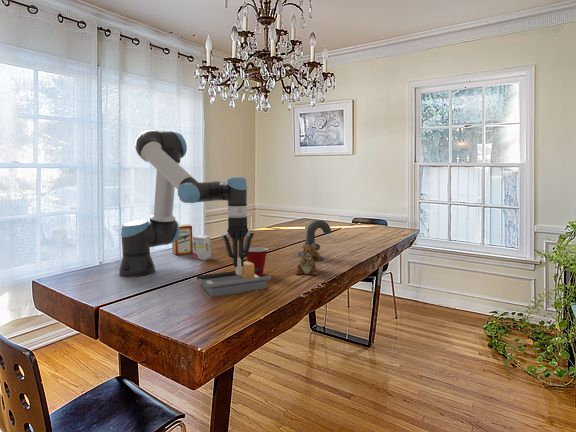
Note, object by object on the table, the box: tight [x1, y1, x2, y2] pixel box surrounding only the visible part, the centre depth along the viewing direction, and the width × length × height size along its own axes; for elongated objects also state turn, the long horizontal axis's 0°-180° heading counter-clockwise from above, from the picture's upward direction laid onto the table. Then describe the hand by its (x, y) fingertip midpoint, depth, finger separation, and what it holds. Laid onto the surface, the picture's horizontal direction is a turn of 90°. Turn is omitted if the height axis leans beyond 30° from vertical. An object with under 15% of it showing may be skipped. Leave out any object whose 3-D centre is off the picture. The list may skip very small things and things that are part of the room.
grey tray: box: [196, 268, 272, 290], centre depth 152 cm, size 27×15×2 cm, turn 116°
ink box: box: [192, 234, 212, 261], centre depth 200 cm, size 9×5×12 cm, turn 56°
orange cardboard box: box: [171, 224, 193, 257], centre depth 211 cm, size 10×6×16 cm
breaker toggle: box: [241, 261, 254, 279], centre depth 155 cm, size 4×5×6 cm
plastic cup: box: [246, 247, 269, 277], centre depth 170 cm, size 11×11×12 cm
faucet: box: [297, 219, 332, 262], centre depth 202 cm, size 18×16×20 cm
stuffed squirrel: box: [294, 244, 321, 276], centre depth 174 cm, size 10×14×13 cm
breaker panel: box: [200, 273, 267, 298], centre depth 153 cm, size 22×16×3 cm
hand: (238, 274), depth 153 cm, fingers closed
